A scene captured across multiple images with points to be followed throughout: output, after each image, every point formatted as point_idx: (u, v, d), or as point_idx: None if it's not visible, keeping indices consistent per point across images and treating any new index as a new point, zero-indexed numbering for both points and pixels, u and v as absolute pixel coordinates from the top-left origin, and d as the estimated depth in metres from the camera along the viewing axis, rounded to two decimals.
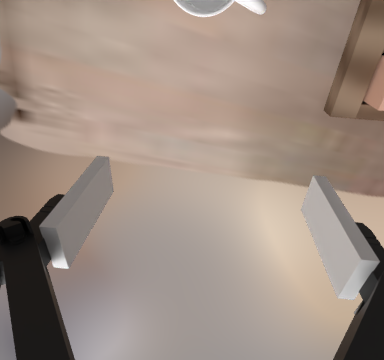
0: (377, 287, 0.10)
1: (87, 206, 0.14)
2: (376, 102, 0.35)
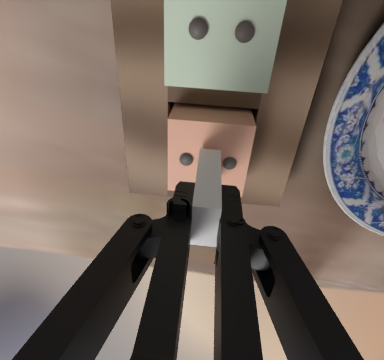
0: (221, 237, 0.12)
1: None
2: None
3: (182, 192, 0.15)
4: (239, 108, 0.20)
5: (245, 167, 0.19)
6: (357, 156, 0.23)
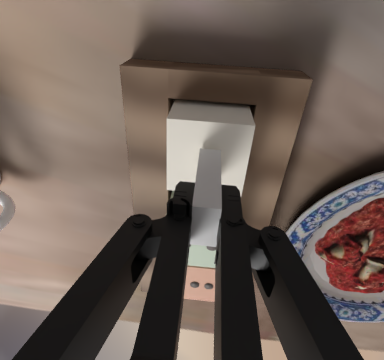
0: (221, 237, 0.12)
1: None
2: None
3: (182, 192, 0.15)
4: None
5: None
6: None
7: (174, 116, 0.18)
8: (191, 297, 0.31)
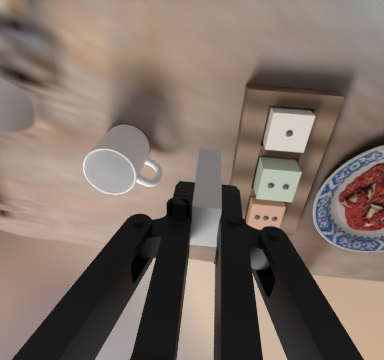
0: (221, 237, 0.12)
1: None
2: (246, 221, 0.51)
3: (182, 192, 0.15)
4: None
5: (280, 220, 0.49)
6: (327, 214, 0.52)
7: (276, 111, 0.38)
8: (261, 228, 0.50)
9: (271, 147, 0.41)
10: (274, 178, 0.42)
